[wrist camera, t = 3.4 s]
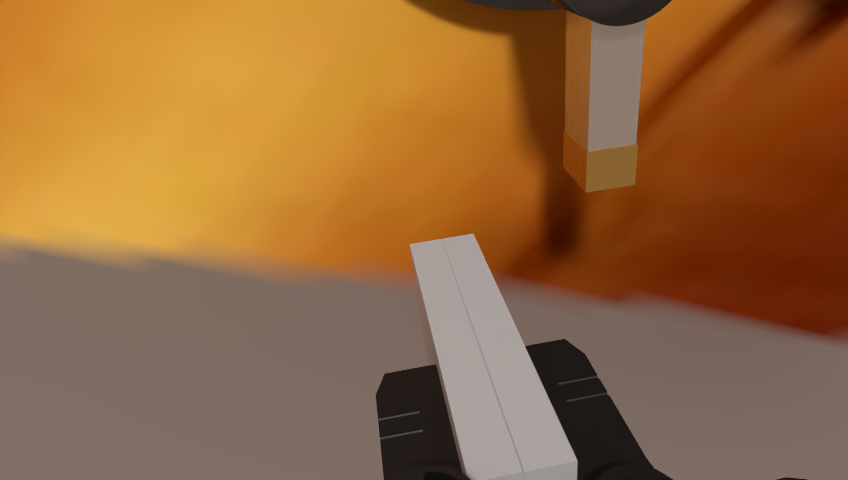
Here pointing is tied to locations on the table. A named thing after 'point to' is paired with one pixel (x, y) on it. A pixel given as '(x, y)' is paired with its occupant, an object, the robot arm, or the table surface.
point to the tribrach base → (516, 4)
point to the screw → (603, 89)
